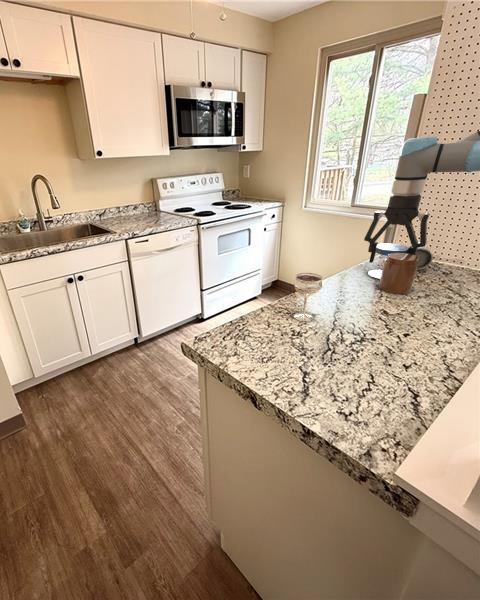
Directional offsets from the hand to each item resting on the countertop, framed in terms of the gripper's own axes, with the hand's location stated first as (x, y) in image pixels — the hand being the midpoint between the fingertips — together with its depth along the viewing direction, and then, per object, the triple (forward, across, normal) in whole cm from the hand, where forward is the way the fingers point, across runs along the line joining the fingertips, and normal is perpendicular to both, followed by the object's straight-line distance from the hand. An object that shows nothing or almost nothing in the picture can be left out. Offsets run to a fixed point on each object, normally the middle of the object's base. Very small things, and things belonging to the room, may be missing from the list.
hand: (387, 263), depth 104 cm
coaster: (+4, 0, 0) cm, 4 cm away
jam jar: (+4, -4, +10) cm, 12 cm away
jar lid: (-5, 0, 0) cm, 5 cm away
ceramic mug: (+4, -5, -14) cm, 15 cm away
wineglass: (+5, +10, +44) cm, 45 cm away
